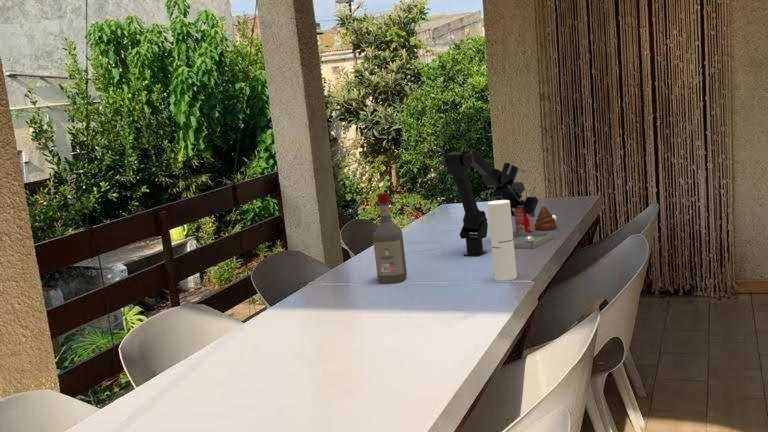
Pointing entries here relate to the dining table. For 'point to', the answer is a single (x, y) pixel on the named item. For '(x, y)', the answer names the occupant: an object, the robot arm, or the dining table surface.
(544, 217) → the poop emoji
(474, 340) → the dining table surface
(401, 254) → the liquor
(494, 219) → the cylindrical container
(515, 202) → the robot arm
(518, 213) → the soda can
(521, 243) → the gray tray
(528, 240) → the steel mixing ball
